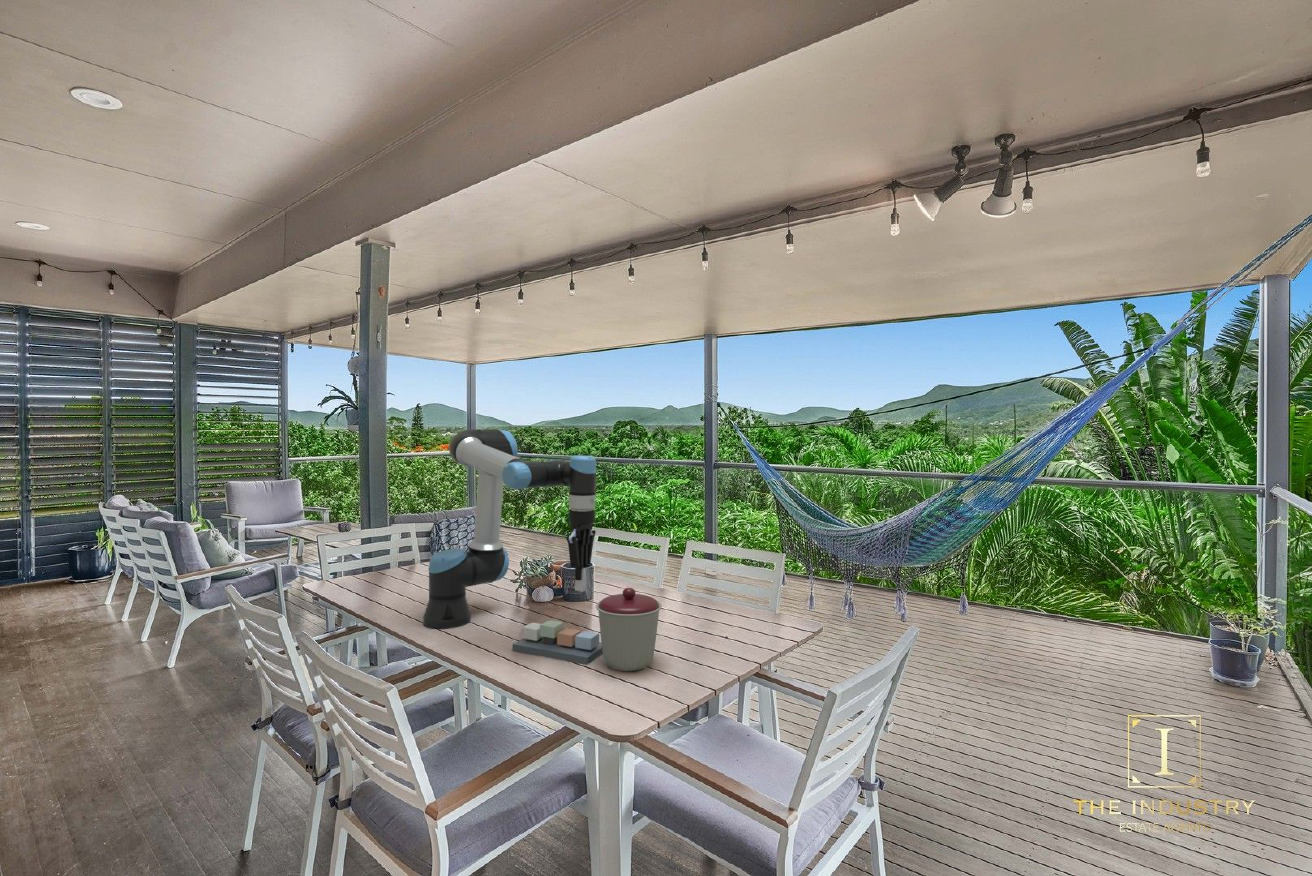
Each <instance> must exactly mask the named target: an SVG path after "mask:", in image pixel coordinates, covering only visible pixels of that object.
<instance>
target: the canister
mask: <svg viewBox="0 0 1312 876" xmlns="http://www.w3.org/2000/svg"><path fill="white" fill-rule="evenodd" d="M662 607H663V606H662V603H661V602H660V601H658V600H657V599H655V598H654V597H652V596H650V595H645V594H639V593H636V590H635V589H634V588H633V587H626V588H624V589H623V591H622V593H619V594H617V593H616V594H612V595H609V596H606V597H604V598H602V599H601V600H599V601H598V602H597V603H596V605H595V608H596V610H597V611H598V623H599V629H600V630H599V631H600V633H599V634H600V642H601V643H602V651H603V654H602V657H603V660H604V663H605V664H606V665H607V667H609V668H611V669H613V670H616V671H621V672H635V671H640V670H643V669H645V668H647V667H648V666H650V664H651V663H652V661H653V658H654V655H655V648H656V641H657V634H658V626H659V625H658V624H659V616H660V610H662Z"/></svg>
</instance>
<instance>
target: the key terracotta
mask: <svg viewBox="0 0 1312 876" xmlns="http://www.w3.org/2000/svg"><path fill="white" fill-rule="evenodd" d="M581 632H582V630H581V629H575V628H568V627H566V628H564V630H562V631H560V632H558V633H557V644H558V645H564V646H570V647H573V646H574V645H575V636H576V635H578V634H580V633H581Z"/></svg>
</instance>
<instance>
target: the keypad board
mask: <svg viewBox="0 0 1312 876" xmlns="http://www.w3.org/2000/svg"><path fill="white" fill-rule="evenodd" d="M511 645H512V649H511V650H512V652H516V653H522V654H526V655H527V654H528V655H533V656H539V657H544V658H549V659H553V660H559V661H564V662H570V663H575V664H576V663H577V664H580V665H581V664H582V665H590V664H591V663H592V662H594V661H595V660H596V659H598V658H599V657H601V656H603V651H602V643H601V641H599V645H597V646H596V647H594V648H593V649H592V650H587V649H582V648H576V647H575V645H574V646H573V647H570V646H564V645H558V644H557V637H556V638H549V637H543V638H541V639H539V640H537V641H535V640H530V639H524V638H521V639H519V640H518V641H515V642H514V643H512V644H511Z"/></svg>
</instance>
